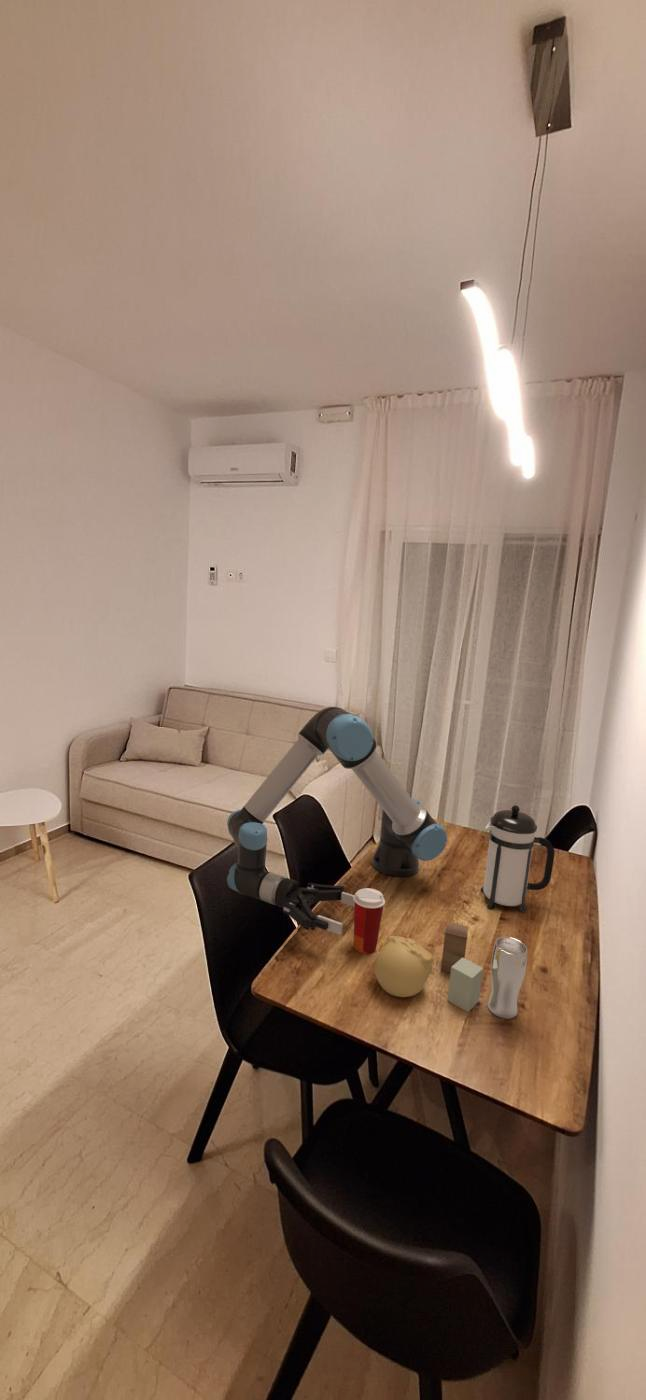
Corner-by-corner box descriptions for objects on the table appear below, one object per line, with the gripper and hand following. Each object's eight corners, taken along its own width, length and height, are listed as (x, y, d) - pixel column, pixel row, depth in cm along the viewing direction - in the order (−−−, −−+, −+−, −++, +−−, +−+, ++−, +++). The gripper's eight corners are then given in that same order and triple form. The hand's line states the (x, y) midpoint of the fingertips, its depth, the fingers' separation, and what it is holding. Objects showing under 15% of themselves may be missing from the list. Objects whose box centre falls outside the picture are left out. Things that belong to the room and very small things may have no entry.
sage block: (458, 989, 127) (462, 957, 125) (478, 1001, 123) (483, 968, 122) (447, 1000, 123) (451, 966, 122) (467, 1012, 120) (472, 978, 118)
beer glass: (524, 1009, 122) (533, 946, 119) (511, 1025, 117) (520, 960, 114) (494, 993, 126) (502, 932, 124) (479, 1008, 121) (488, 944, 119)
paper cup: (382, 942, 143) (387, 890, 140) (377, 959, 135) (382, 905, 133) (352, 935, 145) (357, 884, 142) (345, 952, 137) (350, 899, 135)
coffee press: (512, 922, 156) (526, 820, 151) (466, 896, 169) (478, 801, 164) (547, 906, 167) (562, 810, 162) (502, 883, 179) (514, 792, 174)
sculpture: (437, 988, 126) (442, 944, 125) (404, 1012, 118) (409, 966, 116) (397, 963, 134) (401, 921, 133) (363, 984, 126) (367, 940, 124)
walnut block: (442, 959, 137) (446, 921, 136) (463, 964, 136) (468, 926, 134) (440, 971, 133) (445, 932, 131) (462, 977, 131) (467, 937, 129)
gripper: (303, 885, 161) (371, 908, 151) (253, 926, 139) (329, 955, 129) (304, 860, 160) (374, 882, 150) (254, 898, 138) (332, 925, 128)
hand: (353, 916), depth 140 cm, fingers open, 13 cm apart
